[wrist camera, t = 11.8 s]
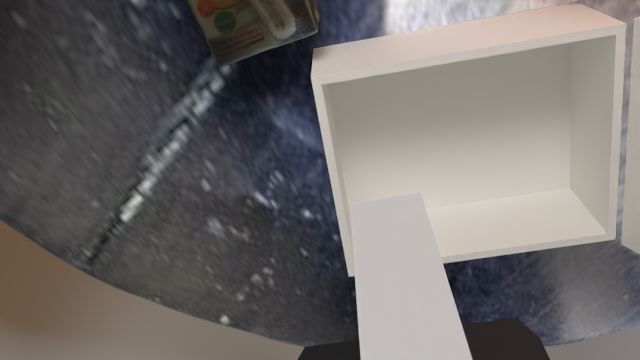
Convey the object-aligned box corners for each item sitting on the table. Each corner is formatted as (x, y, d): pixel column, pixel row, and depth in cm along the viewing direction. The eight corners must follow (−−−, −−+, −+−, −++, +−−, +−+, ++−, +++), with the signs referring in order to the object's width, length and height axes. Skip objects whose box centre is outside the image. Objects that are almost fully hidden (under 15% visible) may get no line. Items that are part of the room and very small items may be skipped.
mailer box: (346, 223, 52) (348, 276, 45) (313, 48, 45) (310, 77, 38) (574, 190, 50) (615, 239, 43) (577, 2, 43) (626, 23, 36)
